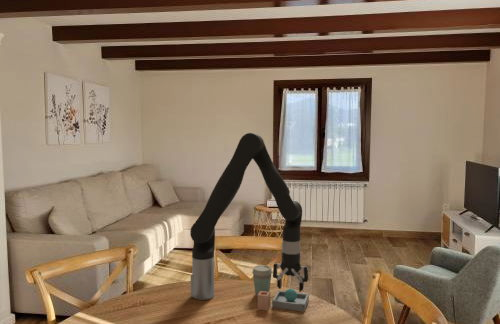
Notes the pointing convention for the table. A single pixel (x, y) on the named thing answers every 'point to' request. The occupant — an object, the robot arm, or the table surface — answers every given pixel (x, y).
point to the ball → (290, 294)
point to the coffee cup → (262, 278)
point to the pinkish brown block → (264, 300)
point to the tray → (283, 303)
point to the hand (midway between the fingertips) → (290, 289)
